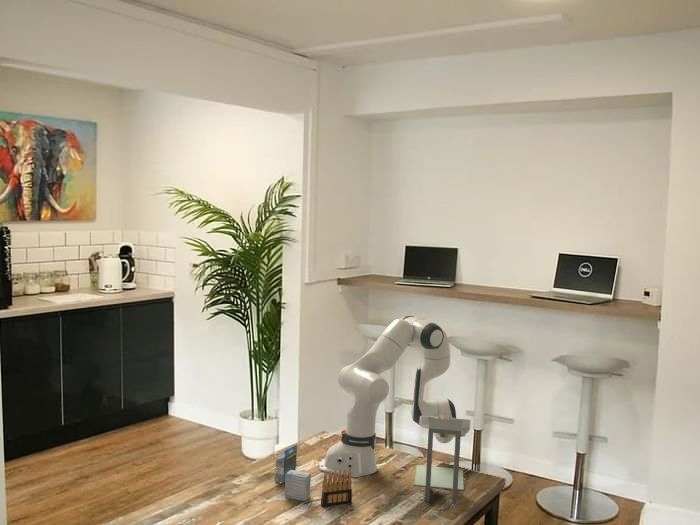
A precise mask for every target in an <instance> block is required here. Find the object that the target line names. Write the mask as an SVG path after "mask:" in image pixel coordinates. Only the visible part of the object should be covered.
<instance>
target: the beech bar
mask: <svg viewBox="0 0 700 525" xmlns="http://www.w3.org/2000/svg"><path fill="white" fill-rule="evenodd" d="M441 419H447V420H449V414H441ZM440 437H445V438H448V434H441V433H440Z"/></svg>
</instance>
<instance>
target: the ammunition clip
mask: <svg viewBox="0 0 700 525" xmlns="http://www.w3.org/2000/svg"><path fill="white" fill-rule="evenodd" d="M352 482H353V481H352V477H351V470H350V469H349V471H348V476H347V474H346V469H345V470H344V473H343V475H342V472H341V470H340V471H339V474H337V472H336V470H335V472H334V473H332V472H331V471H330V473H328V472H326V471H325V472H324V474H323V482H322V490H321V498H320V506H321V507H322V508H329V507H336V506H343V505H351V504H352V503H353V498H352V497H353V494H352V493H353V489H352V486H353V485H352Z"/></svg>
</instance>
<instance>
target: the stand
mask: <svg viewBox="0 0 700 525" xmlns="http://www.w3.org/2000/svg"><path fill="white" fill-rule="evenodd" d="M427 433H428V434H427V452H426V453H427V454H426V466H427V469H426V487H424V488H425V491H424V502H429V503H430V497H431V496H430V495H431V487H430V484H431V466H432V463H433V448H434V447H433V446H434V445H433V443H434V433H441V434H452V435H456V436H455V437H454V438H455V439H454V440H455V442H454V456H453V469H454V471H453V489H451V490H452V493H451V494H452V500H451V503H452V505H455V504H458V491H459V490H458V474H459V469H460V454H461V452H460V450H461V421H458V420H447V419H435V418H430V421H429V429H428V432H427Z"/></svg>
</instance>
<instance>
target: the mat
mask: <svg viewBox="0 0 700 525" xmlns="http://www.w3.org/2000/svg"><path fill="white" fill-rule="evenodd" d="M415 469H416V470H415V476H414V482H413V487H414V486H415V487H424V488H425V487H426V469H427V465H421V464H416V468H415ZM453 471H454V467H453V468H451V467H443V466H442V467H440V466H432V465H431V484H430V488H434V489H435V488H436V489H443V488H444V489H445V490H452V489H453ZM464 488H465V487H464V469H463V468H462V469H460V468H459V474H458V491H463V490H464Z"/></svg>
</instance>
